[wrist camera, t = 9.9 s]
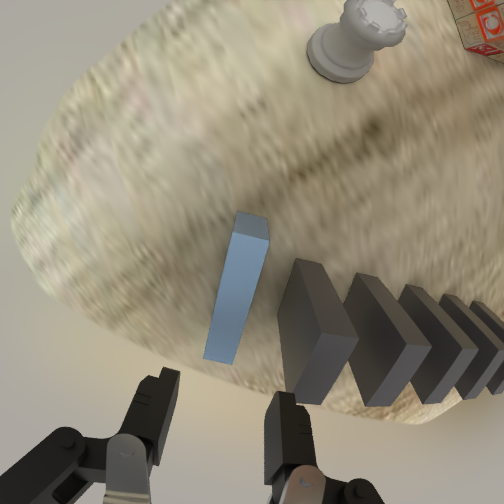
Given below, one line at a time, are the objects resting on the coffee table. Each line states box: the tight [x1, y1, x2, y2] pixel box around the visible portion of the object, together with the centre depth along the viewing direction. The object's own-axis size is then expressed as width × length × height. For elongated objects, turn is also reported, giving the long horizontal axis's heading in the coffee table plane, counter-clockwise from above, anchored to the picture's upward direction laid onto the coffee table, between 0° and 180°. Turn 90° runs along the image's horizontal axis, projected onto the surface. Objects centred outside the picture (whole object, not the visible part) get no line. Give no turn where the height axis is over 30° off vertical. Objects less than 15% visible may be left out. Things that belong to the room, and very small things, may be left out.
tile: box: [203, 211, 270, 365], centre depth 19 cm, size 2×5×9 cm
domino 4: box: [439, 294, 504, 400], centre depth 19 cm, size 2×5×9 cm, turn 166°
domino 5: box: [469, 301, 504, 395], centre depth 19 cm, size 2×5×9 cm, turn 166°
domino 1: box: [277, 258, 359, 405], centre depth 17 cm, size 2×5×9 cm, turn 166°
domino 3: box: [398, 284, 479, 405], centre depth 18 cm, size 2×5×9 cm, turn 166°
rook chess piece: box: [307, 0, 408, 83], centre depth 12 cm, size 4×4×8 cm
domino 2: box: [343, 273, 432, 407], centre depth 18 cm, size 2×5×9 cm, turn 166°
